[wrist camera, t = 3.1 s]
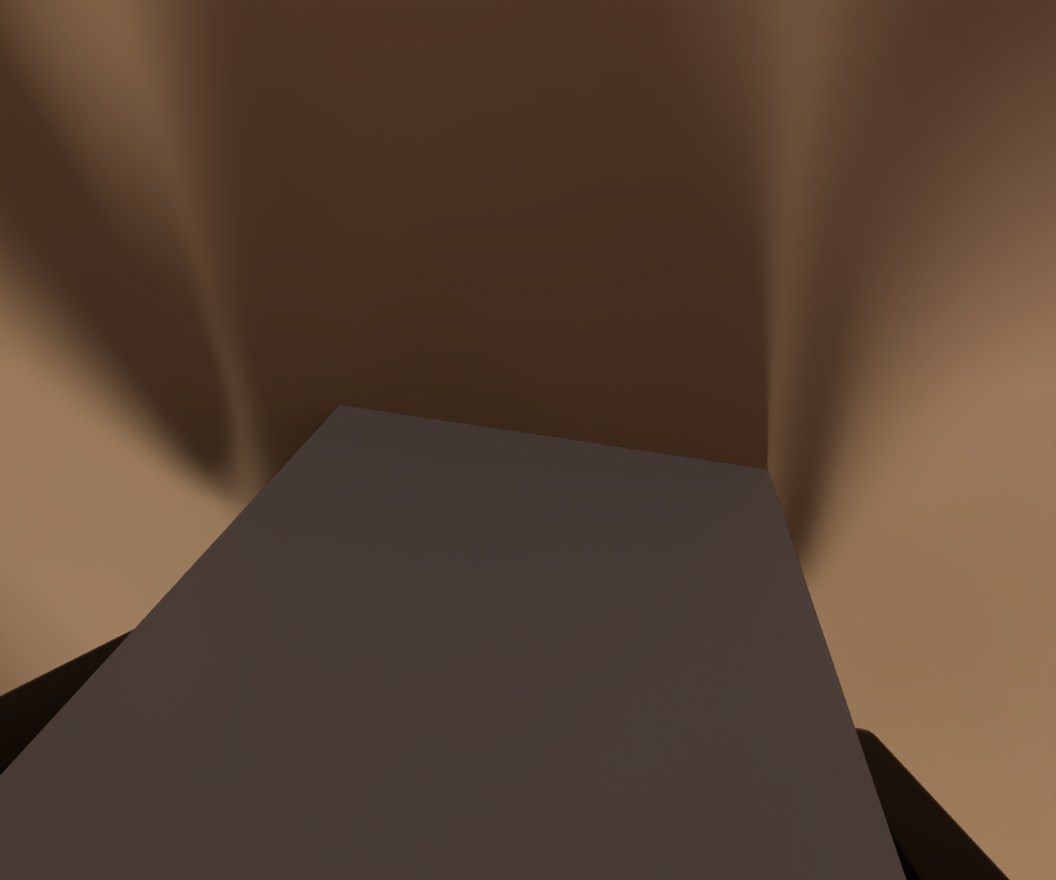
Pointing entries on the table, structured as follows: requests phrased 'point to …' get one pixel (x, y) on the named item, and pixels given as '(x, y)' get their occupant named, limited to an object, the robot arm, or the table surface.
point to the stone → (465, 683)
